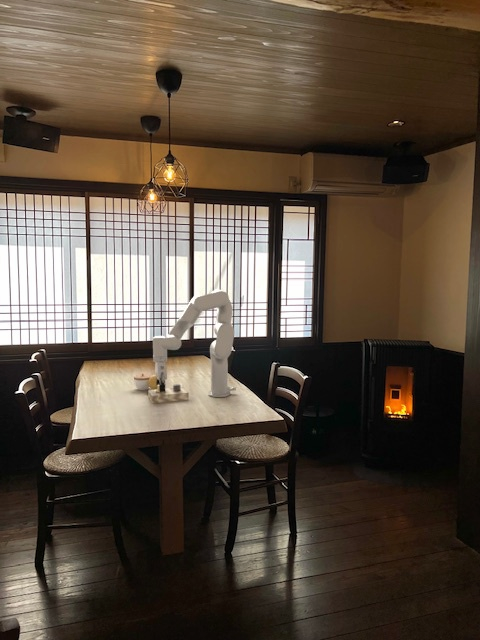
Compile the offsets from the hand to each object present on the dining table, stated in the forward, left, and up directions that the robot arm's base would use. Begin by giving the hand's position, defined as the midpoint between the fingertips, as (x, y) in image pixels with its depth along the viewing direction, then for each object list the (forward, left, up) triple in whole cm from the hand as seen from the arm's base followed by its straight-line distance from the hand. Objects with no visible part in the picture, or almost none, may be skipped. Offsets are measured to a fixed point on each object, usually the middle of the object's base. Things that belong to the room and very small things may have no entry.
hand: (160, 389), depth 261 cm
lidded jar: (+6, -26, -6) cm, 27 cm away
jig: (-4, 0, -5) cm, 7 cm away
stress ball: (-1, -18, -6) cm, 19 cm away
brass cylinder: (0, 0, -5) cm, 5 cm away
